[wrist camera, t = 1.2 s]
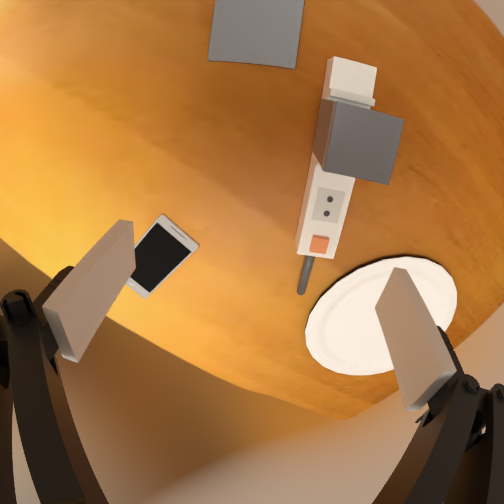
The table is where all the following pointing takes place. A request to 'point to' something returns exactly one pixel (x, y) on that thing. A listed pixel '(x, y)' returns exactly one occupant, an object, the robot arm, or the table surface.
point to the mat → (256, 32)
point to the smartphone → (159, 255)
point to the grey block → (356, 141)
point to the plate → (371, 314)
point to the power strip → (329, 184)
